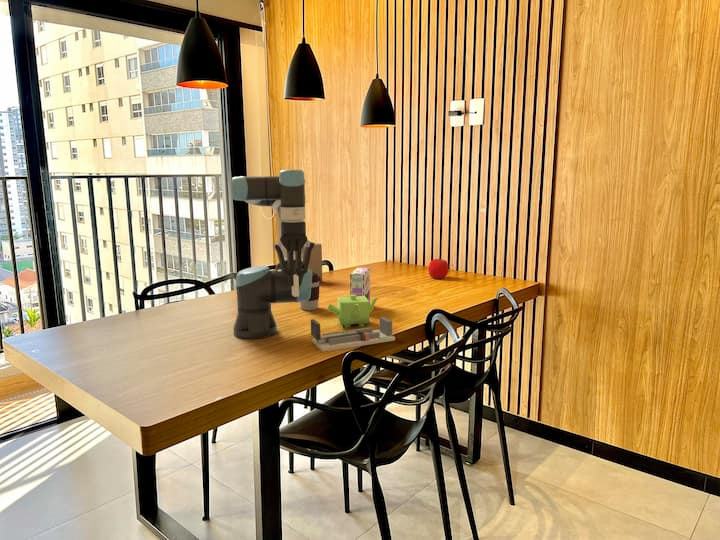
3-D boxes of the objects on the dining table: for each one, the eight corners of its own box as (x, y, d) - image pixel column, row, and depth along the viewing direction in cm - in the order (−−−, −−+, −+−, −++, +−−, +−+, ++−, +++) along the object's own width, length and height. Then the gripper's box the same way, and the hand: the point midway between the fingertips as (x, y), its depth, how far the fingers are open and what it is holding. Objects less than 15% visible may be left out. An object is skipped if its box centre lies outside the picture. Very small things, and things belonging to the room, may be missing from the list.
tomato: (428, 276, 281) (428, 256, 279) (448, 276, 279) (448, 256, 277) (428, 280, 271) (428, 259, 269) (448, 280, 269) (449, 260, 267)
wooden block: (308, 279, 275) (307, 241, 271) (323, 281, 269) (322, 243, 265) (295, 282, 267) (294, 244, 263) (310, 284, 261) (309, 245, 257)
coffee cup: (326, 308, 216) (325, 273, 214) (308, 313, 209) (307, 276, 207) (310, 304, 223) (309, 270, 220) (292, 308, 216) (291, 273, 213)
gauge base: (322, 351, 164) (322, 333, 163) (312, 342, 173) (312, 324, 172) (395, 340, 175) (395, 322, 174) (381, 332, 184) (381, 315, 183)
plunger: (319, 347, 164) (318, 326, 162) (311, 340, 171) (310, 319, 169) (363, 340, 170) (363, 320, 169) (354, 334, 177) (353, 314, 176)
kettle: (380, 322, 196) (380, 293, 194) (360, 332, 184) (360, 301, 182) (348, 316, 204) (347, 288, 202) (326, 325, 192) (325, 296, 190)
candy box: (364, 313, 208) (364, 273, 205) (349, 313, 209) (349, 273, 206) (370, 305, 221) (370, 267, 218) (357, 304, 222) (356, 267, 219)
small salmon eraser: (365, 340, 170) (365, 334, 170) (363, 339, 171) (363, 332, 171) (368, 339, 171) (368, 333, 170) (367, 338, 172) (367, 332, 171)
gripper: (275, 222, 152) (278, 300, 157) (317, 220, 157) (319, 296, 162) (269, 220, 159) (272, 295, 163) (309, 219, 164) (311, 291, 169)
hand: (295, 295), depth 163 cm, fingers closed
